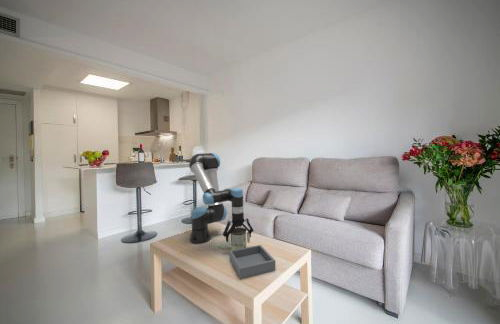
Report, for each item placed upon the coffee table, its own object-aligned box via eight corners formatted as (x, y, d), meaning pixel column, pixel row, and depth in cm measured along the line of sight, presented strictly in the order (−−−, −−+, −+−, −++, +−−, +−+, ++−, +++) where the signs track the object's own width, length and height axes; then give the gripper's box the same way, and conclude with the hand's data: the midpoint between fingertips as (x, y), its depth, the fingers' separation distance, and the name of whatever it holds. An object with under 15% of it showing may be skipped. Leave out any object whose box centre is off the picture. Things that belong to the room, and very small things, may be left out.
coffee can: (229, 249, 142) (228, 228, 140) (244, 246, 145) (243, 226, 144) (233, 256, 132) (232, 234, 131) (248, 253, 135) (248, 232, 134)
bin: (229, 259, 128) (229, 250, 128) (260, 253, 135) (260, 244, 135) (240, 279, 109) (239, 268, 109) (275, 270, 116) (275, 260, 116)
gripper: (220, 216, 129) (221, 250, 130) (257, 211, 137) (258, 243, 139) (217, 213, 136) (218, 245, 137) (253, 208, 144) (254, 238, 146)
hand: (238, 244), depth 138 cm, fingers open, 13 cm apart
